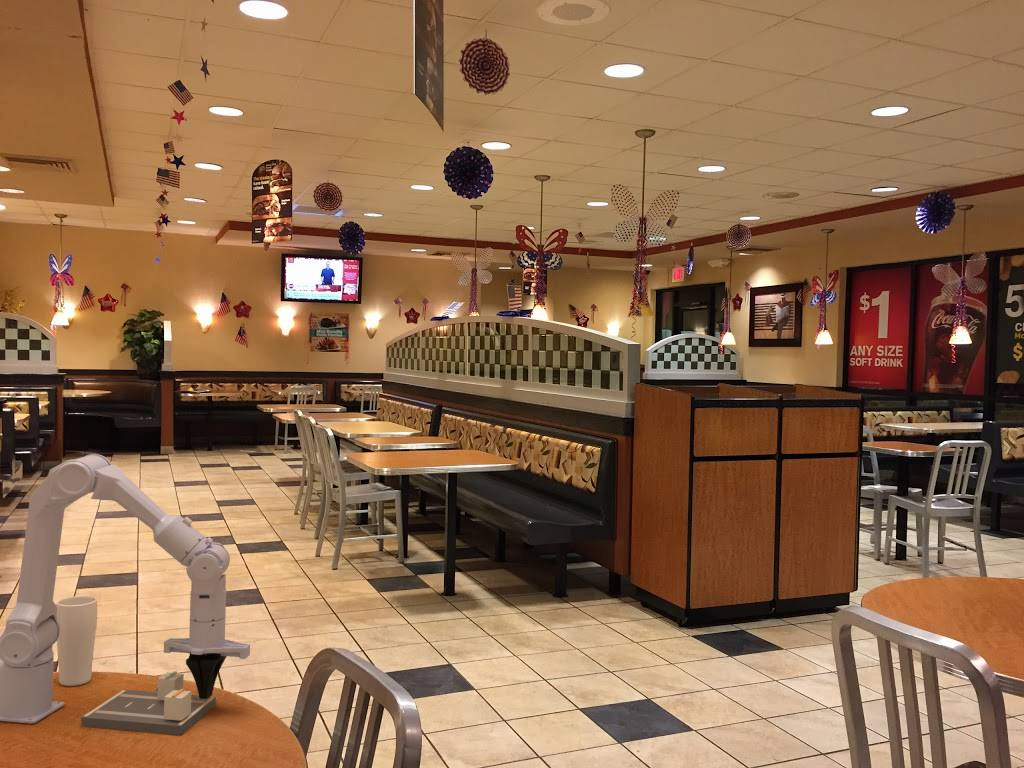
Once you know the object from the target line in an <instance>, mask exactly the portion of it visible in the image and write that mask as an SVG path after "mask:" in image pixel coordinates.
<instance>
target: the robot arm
mask: <svg viewBox="0 0 1024 768" xmlns="http://www.w3.org/2000/svg"><path fill="white" fill-rule="evenodd" d="M91 493H92V495H91V497H90V498H91V500H99V501H100V500H101V501H112V502H116V503H117V504H118V505H120V506H121V507H122V508H123V509H125V511H127V512H129V513H130V514H131V515H132V516H134V517H135V518H136V519H137V520H139V521H140V522H142V523H143V524H145V525H146V527H148V528H150V529H151V530H152V533H153V534H152V535H153V542H155V543H156V544H157V545H158V546H159V547H161V548H162V549H163V550H164V551H165V553H168V554H169V555H170V556H171V557H172V558H173V559H175V561H177V562H178V563H179V564H180V565H182V566H183V567H186V568H185V569H186V574H187V577H188V578H189V580H190V581H191V582H190V583H191V585H190V586H191V588H190V589H191V590H190V592H189V593H190V594H189V595H190V597H189V598H190V600H189V601H190V602H189V604H190V605H189V630H188V631H189V632H188V633H189V635H188V636H189V637H184V638H181V637H179V638H176V637H175V638H174V637H170V638H168V639H166V640H165V641H163V653H164V654H170V653H182V654H189V656H188V658H186V659H185V664H186V666H187V668H188V670H189V671H190V673H191V675H192V676H193V680H194V682H195V686H196V689H197V694H198V696H199V698H200V699H208V698H209V697H212V696H213V692H214V687H215V683H216V680H217V677H218V674H219V672H220V670H221V668H222V666H223V664H224V662H225V660H226V659H227V657H230V658H231V657H233V658H234V657H235V658H239V659H240V660H245V659H247V658H248V657H249V656H251V644H250V643H242V642H239V641H234V640H230V639H226V610H227V608H226V607H227V603H226V602H227V588H226V585H227V579H226V578H227V577H226V576H227V575H226V574H225V572H226V571H227V569H229V566H230V563H231V558H230V557H231V555H230V554H229V551H228V550H227V549H226V548H225V546H224V545H223V544H222V543H220V542H214V539H213V538H211V537H210V536H209V537H206V536H205V535H203V533H201V532H200V531H199V530H197V528H196V527H194V526H193V525H192V523H193V520H192V519H190V517H188V516H186V517H183V516H181V515H179V514H174V515H173V514H172V515H171V514H167V512H166V511H164V509H162V508H161V507H160V506H159V505H158V504H157V503H156V502H155V501H154V500H153V499H151V498H150V496H148V494H146V493H145V492H144V491H143V490H142V489H141V488H140V487H139V486H138V485H137V484H136V483H134V482H133V480H131V479H130V478H129V477H128V476H127V474H126V473H125V472H124V471H123V470H122V469H121V468H120V467H119V466H117V465H116V464H114V463H113V464H112V463H111V461H110V460H109V459H108V458H107V457H106V456H103V455H102V454H98V453H90V454H87V455H84V456H82V457H79V458H78V457H77V458H74V459H69V460H66V461H63V462H62V463H60V464H58V465H56V466H55V467H52V468H51V469H50V470H49V471H48V473H47V476H46V477H45V478H44V479H43V481H42V482H41V483H40V485H38V487H37V488H36V489H35V491H33V492H32V494H31V495H30V498H29V503H28V511H27V519H26V524H25V525H26V528H25V533H24V535H25V536H24V542H23V550H22V559H21V565H20V573H19V581H18V589H17V590H18V591H17V597H16V603H15V605H14V607H13V608H12V610H11V612H10V614H9V615H8V617H7V619H6V620H5V629H3V633H2V634H1V635H0V722H11V723H21V724H23V723H24V724H36V723H38V722H39V721H41V720H42V719H44V718H46V717H47V716H49V715H51V714H52V713H54V712H55V711H57V710H58V709H59V710H60V708H62V707H64V706H65V702H64V701H58V700H57V701H55V700H54V659H55V658H54V655H55V653H54V650H53V645H54V644H55V643H57V640H58V638H59V635H60V625H59V622H58V620H57V606H56V603H55V601H54V594H55V585H56V579H57V578H56V577H57V571H58V563H59V556H60V555H59V554H60V549H61V548H60V546H61V540H62V531H63V525H64V524H63V523H64V516H65V509H66V508H68V507H70V505H72V504H75V502H76V501H78V500H80V499H81V498H83V497H85V496H87V495H88V494H91Z"/></svg>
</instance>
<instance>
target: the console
mask: <svg viewBox="0 0 1024 768" xmlns="http://www.w3.org/2000/svg"><path fill="white" fill-rule="evenodd" d="M157 698H158V691H147V690H134V689H122V690H121V691H119V692H118V693H116V694H114V695H113V696H112V697H110V698H109V699H107V700H105V701H104V702H102V703H101V704H99V705H98V706H96V707H95V708H94V709H92V710H90V711H88V712H87V713H85V714H84V715H82V716H81V717H80V719H81V721H80V727H84V728H94V729H104V730H105V729H107V730H116V731H117V730H118V731H128V732H141V733H150V734H161V735H172V736H173V735H174V736H182V735H183V734H184V733H186V732H187V731H188V730H189V729H190V728H191V727H193V726H194V725H195V724H196V723H197V722H199V721H200V720H201V719H203V717H204V716H206V715H207V714H208V713H209V712H210V711H211V710H212V709H214V708H215V707H216V706H217V697H216V696H210V697H209V698H208V699H200V698H199V695H196V694H195V695H194V694H191V713H190V714H189V715H188V716H187V717H185V718H184V719H183V720H182V721H179V720H168V719H164V700H157Z"/></svg>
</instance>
